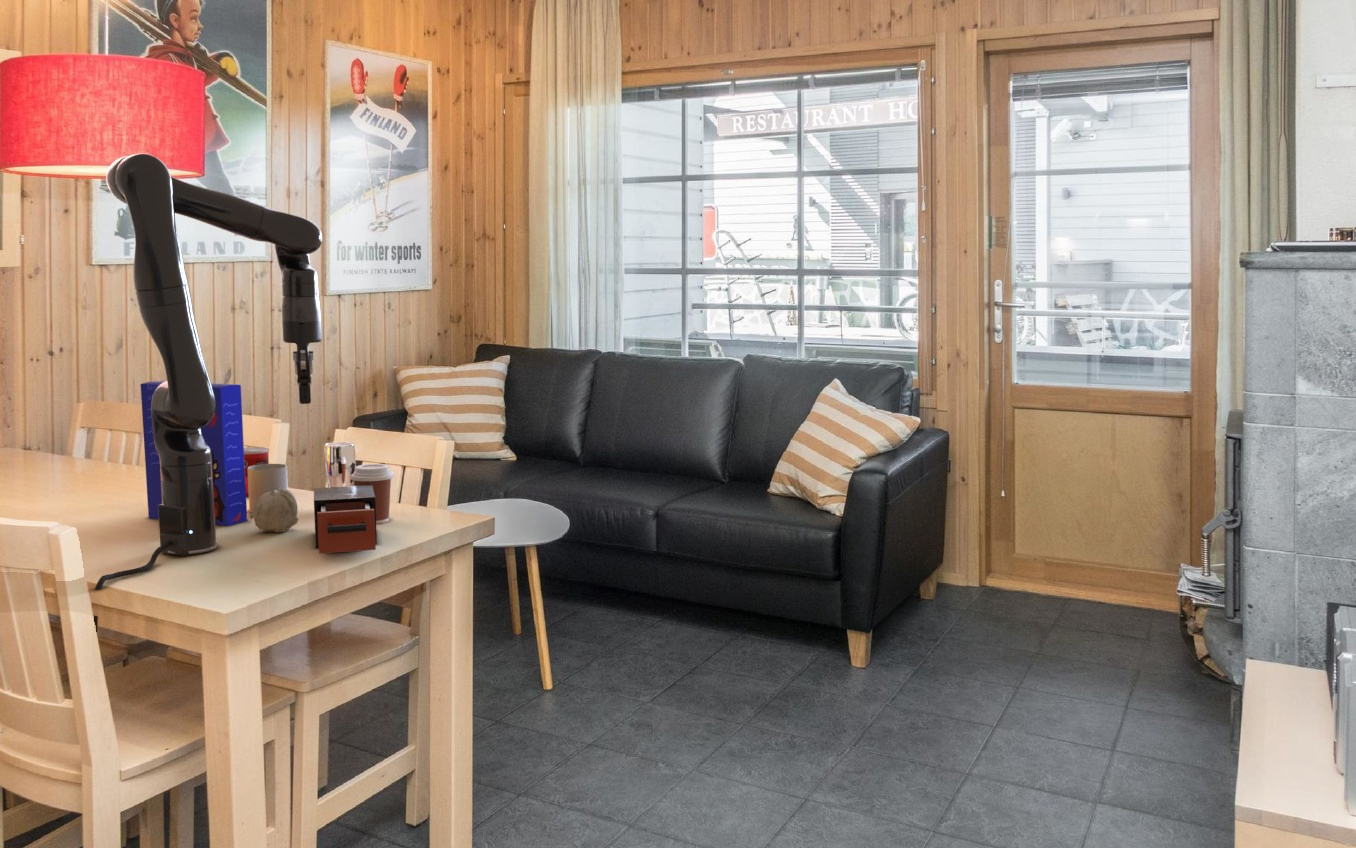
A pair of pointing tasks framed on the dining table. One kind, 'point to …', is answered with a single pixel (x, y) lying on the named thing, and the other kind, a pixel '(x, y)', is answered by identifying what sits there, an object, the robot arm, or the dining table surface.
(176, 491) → the robot arm
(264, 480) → the cup
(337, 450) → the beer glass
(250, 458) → the canned food
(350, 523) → the brown drawer box
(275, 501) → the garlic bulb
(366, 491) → the box
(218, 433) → the cereal box
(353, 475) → the coffee cup
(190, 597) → the dining table surface
